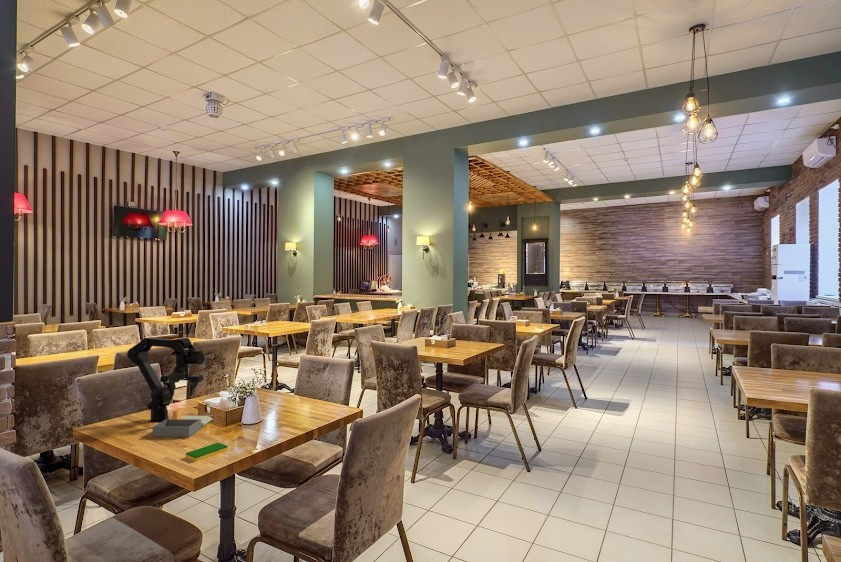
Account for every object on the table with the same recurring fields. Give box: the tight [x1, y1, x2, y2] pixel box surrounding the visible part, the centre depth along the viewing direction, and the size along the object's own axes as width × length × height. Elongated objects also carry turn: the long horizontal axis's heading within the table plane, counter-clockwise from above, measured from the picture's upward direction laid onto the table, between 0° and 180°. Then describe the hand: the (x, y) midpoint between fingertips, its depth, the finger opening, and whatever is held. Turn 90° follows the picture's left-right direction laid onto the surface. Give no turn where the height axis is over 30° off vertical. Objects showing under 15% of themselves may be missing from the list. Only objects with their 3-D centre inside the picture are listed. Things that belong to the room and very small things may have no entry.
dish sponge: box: [185, 442, 229, 462], centre depth 179 cm, size 7×14×2 cm, turn 148°
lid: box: [172, 407, 213, 427], centre depth 217 cm, size 16×11×6 cm
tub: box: [152, 418, 202, 438], centre depth 203 cm, size 16×11×4 cm
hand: (181, 395), depth 219 cm, fingers open, 9 cm apart
